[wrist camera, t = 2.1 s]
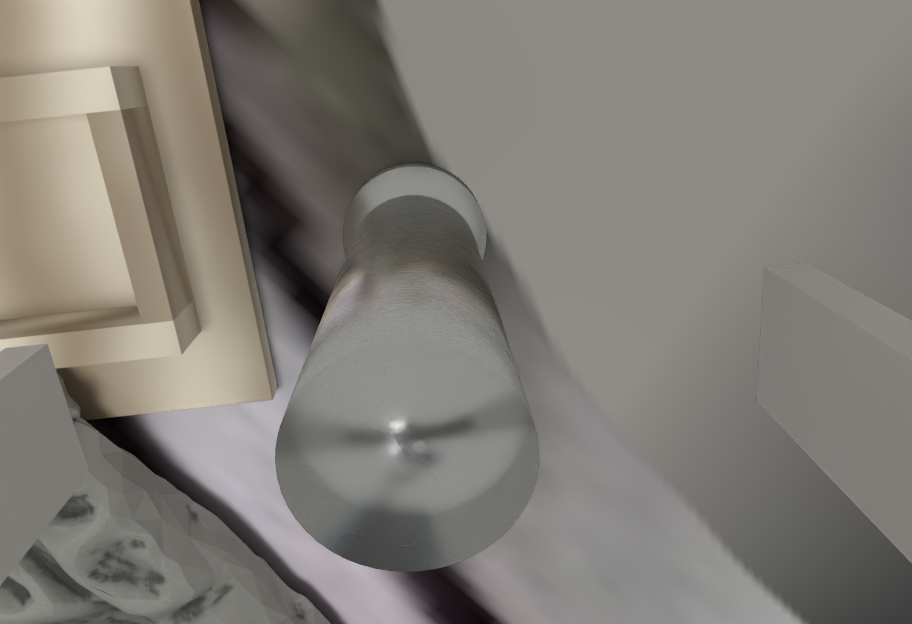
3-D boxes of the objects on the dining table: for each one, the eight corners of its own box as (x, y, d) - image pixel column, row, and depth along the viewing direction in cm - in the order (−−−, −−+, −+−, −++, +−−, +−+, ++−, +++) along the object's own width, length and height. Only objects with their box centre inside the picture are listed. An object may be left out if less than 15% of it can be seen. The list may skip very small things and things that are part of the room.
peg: (489, 290, 26) (578, 578, 12) (356, 305, 26) (275, 612, 11) (477, 155, 25) (564, 289, 10) (335, 170, 24) (208, 328, 10)
